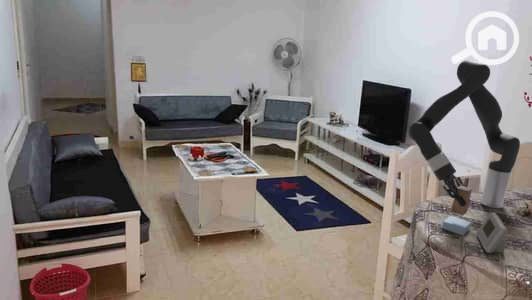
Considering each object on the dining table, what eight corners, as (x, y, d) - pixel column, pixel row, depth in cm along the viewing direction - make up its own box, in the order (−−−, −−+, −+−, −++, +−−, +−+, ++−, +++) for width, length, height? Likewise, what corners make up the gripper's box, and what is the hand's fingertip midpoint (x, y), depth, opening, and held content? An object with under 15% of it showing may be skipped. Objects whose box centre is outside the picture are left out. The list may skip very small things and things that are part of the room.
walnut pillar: (454, 208, 172) (460, 185, 170) (466, 212, 170) (472, 188, 167) (451, 211, 169) (456, 187, 166) (463, 215, 166) (468, 191, 164)
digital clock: (476, 233, 168) (481, 208, 166) (501, 240, 165) (508, 214, 162) (476, 251, 154) (482, 224, 151) (504, 258, 151) (511, 231, 148)
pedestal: (449, 222, 177) (450, 215, 176) (469, 229, 172) (470, 222, 171) (442, 228, 171) (443, 221, 170) (463, 235, 166) (464, 228, 165)
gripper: (442, 165, 164) (469, 204, 159) (455, 158, 174) (480, 195, 170) (426, 174, 168) (451, 213, 164) (439, 167, 179) (463, 203, 175)
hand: (466, 203), depth 167 cm, fingers closed on walnut pillar, 4 cm apart
